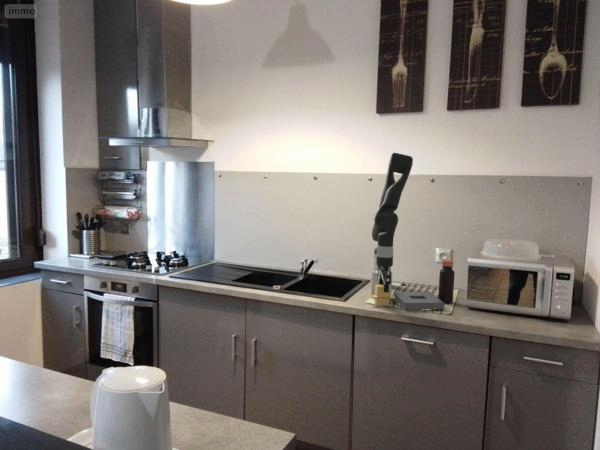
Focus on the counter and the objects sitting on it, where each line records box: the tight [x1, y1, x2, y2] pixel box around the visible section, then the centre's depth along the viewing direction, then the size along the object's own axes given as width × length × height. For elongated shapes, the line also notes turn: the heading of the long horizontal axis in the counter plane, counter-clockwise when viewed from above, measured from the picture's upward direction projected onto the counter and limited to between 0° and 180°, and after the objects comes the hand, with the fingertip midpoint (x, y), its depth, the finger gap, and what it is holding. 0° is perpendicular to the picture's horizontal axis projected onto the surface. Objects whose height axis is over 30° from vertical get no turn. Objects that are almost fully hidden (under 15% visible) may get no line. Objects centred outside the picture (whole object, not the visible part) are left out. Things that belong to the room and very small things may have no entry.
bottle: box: [437, 259, 456, 305], centre depth 224 cm, size 7×7×20 cm
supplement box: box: [370, 271, 393, 295], centre depth 231 cm, size 7×7×13 cm
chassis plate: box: [393, 291, 445, 311], centre depth 219 cm, size 18×18×4 cm
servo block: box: [369, 285, 395, 307], centre depth 218 cm, size 4×11×10 cm, turn 94°
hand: (383, 289), depth 217 cm, fingers open, 8 cm apart
